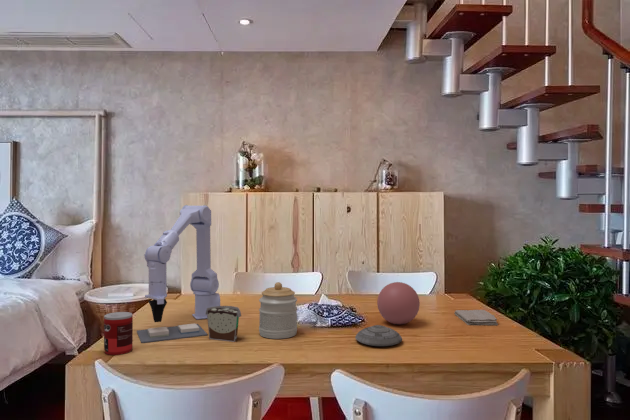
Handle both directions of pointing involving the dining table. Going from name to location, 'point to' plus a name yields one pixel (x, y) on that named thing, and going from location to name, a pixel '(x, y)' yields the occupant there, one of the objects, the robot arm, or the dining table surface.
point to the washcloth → (476, 317)
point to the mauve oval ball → (398, 303)
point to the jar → (278, 313)
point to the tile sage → (158, 332)
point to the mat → (173, 334)
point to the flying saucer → (378, 336)
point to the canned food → (118, 333)
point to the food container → (223, 322)
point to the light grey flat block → (188, 328)
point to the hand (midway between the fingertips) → (157, 321)
